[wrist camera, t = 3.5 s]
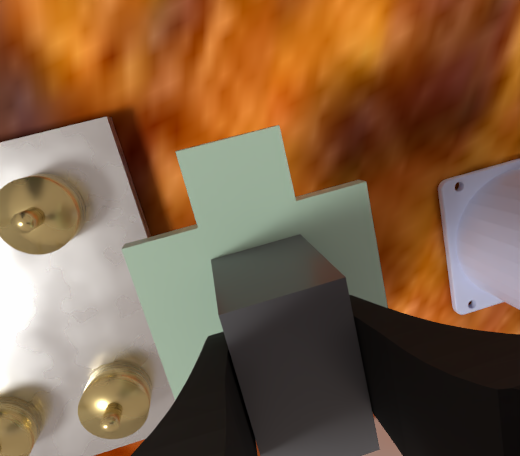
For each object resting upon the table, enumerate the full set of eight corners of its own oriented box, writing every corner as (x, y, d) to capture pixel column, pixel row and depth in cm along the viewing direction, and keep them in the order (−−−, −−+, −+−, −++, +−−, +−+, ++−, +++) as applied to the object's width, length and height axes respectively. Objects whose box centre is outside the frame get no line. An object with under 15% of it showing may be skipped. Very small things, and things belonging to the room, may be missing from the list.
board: (346, 107, 13) (427, 94, 8) (399, 410, 16) (477, 516, 12) (98, 170, 12) (44, 192, 8) (206, 475, 15) (211, 615, 11)
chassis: (111, 117, 18) (90, 113, 14) (207, 406, 22) (209, 458, 19) (-194, 192, 17) (-300, 208, 13) (-32, 482, 21) (-78, 554, 17)
